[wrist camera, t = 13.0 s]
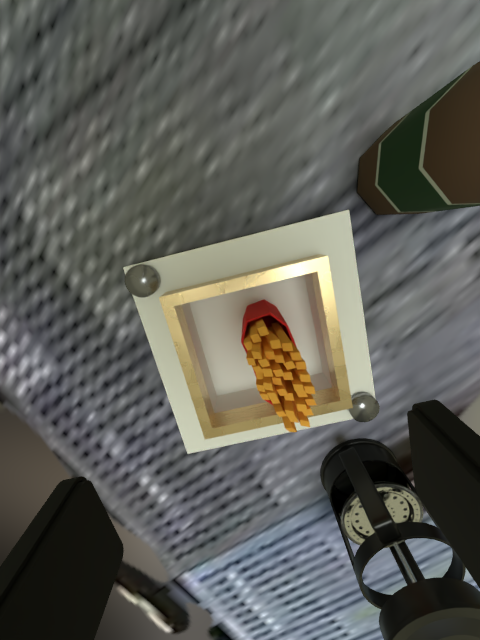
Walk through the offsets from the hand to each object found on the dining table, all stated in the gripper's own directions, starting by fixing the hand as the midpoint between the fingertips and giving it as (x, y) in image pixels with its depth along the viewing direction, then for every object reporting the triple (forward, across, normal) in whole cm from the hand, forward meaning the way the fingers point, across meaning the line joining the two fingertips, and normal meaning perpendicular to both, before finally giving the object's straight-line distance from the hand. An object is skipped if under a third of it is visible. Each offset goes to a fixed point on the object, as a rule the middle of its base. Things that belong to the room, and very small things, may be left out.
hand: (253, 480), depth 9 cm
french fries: (+23, -2, +4) cm, 23 cm away
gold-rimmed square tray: (+23, -1, +4) cm, 24 cm away
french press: (+23, -8, +24) cm, 34 cm away
